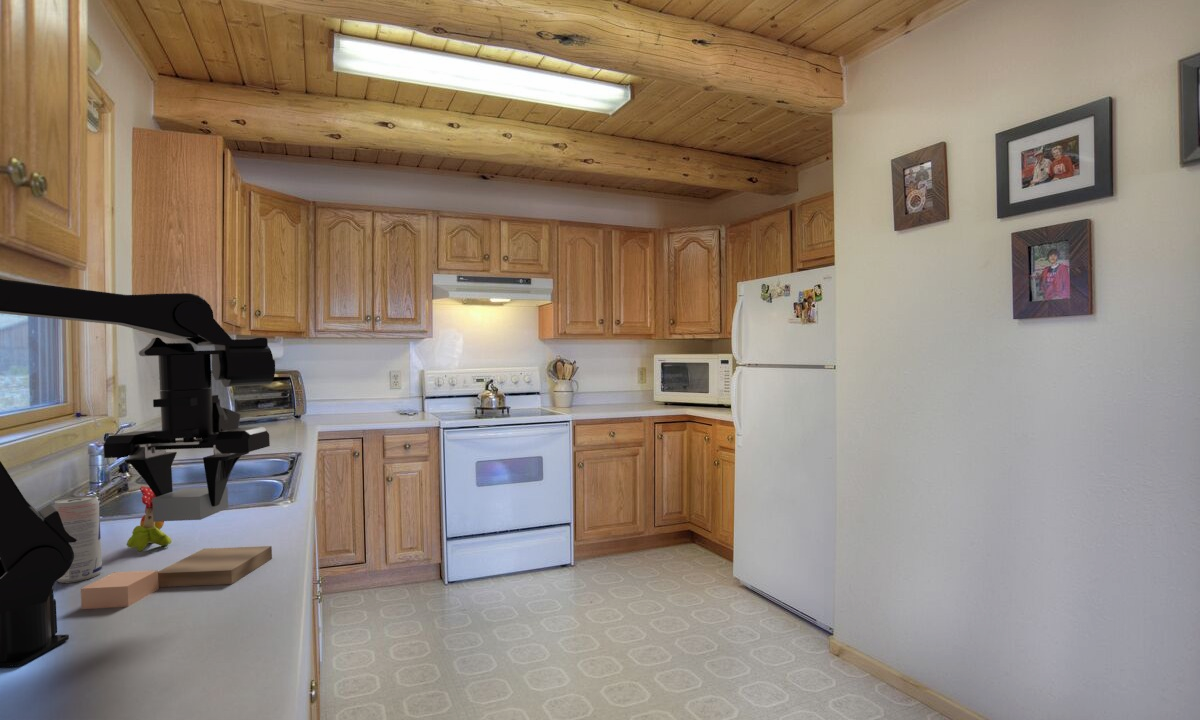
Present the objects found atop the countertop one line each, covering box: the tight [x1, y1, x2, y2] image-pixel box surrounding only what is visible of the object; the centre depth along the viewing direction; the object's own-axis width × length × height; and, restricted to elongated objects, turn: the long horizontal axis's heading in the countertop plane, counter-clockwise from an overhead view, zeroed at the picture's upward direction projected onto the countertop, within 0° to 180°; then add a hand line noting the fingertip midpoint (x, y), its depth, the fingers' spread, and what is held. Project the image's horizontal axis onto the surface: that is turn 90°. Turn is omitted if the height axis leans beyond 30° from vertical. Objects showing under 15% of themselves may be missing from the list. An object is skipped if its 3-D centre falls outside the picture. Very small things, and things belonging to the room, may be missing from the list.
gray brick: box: [152, 485, 229, 522], centre depth 81 cm, size 6×6×3 cm
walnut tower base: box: [158, 545, 273, 588], centre depth 94 cm, size 11×11×2 cm
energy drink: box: [52, 494, 103, 584], centre depth 93 cm, size 5×5×12 cm
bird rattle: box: [125, 486, 172, 552], centre depth 109 cm, size 6×11×9 cm
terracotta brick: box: [80, 569, 160, 610], centre depth 84 cm, size 6×6×3 cm
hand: (191, 506), depth 81 cm, fingers closed on gray brick, 6 cm apart
